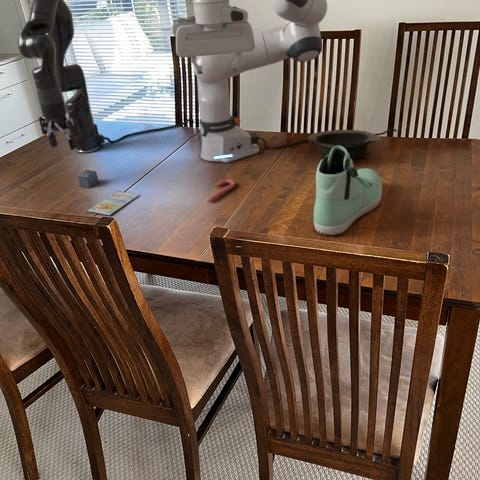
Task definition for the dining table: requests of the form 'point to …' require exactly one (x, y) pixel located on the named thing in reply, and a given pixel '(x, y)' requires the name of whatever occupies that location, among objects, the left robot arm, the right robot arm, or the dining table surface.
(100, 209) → the baking ingredient package
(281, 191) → the dining table surface
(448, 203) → the dining table surface
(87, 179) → the block
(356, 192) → the sneaker
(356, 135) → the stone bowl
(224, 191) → the candy cane
